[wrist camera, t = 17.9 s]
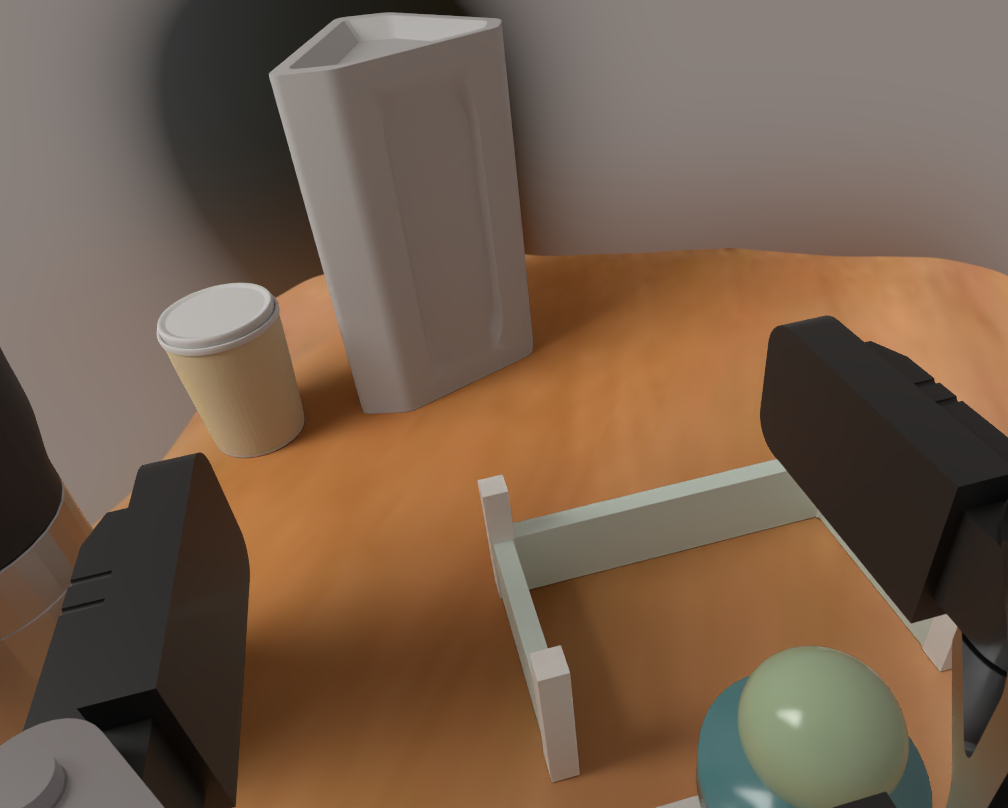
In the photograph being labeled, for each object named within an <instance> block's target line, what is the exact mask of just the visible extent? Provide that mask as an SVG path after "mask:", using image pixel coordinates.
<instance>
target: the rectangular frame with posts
mask: <svg viewBox="0 0 1008 808" xmlns="http://www.w3.org/2000/svg"><path fill="white" fill-rule="evenodd" d="M478 486H479V491H480V497H481V503H482V508H483V514H484V520H485V526H486V531H487V537H488V543H489V548H490V554H491V560H492V565H493V571H494V577H495V582H496V586H497V589H498V593H499V596H500V599H501V598H503V602H504V605H505V609H506V612H507V616H508V619H509V623H510V626H511V630H512V634H513V637H514V641H515V644H516V648H517V651H518V655H519V658H520V662H521V665H522V669H523V672H524V676H525V679H526V683H527V686H528V690H529V693H530V697H531V700H532V704H533V708H534V711H535V715H536V718H537V722H538V725H539V729H540V732H541V738H542V744H543V751H544V757H545V760H546V764H547V767H548V771H549V775H550V778H551V782H552V783H553V782H556V781H560V780H563V779H567V778H570V777H574V776H577V775H580V771H579V760H578V750H577V739H576V729H575V718H574V708H573V697H572V687H571V676H570V671H569V668H568V665H567V662H566V659H565V656H564V653H563V650H562V647H561V645H559V646H555V647H552V648H547V645H546V641H545V638H544V635H543V632H542V629H541V626H540V623H539V620H538V617H537V614H536V610H535V607H534V604H533V601H532V598H531V595H530V592H529V589H533V588H537V587H541V586H545V585H549V584H553V583H557V582H561V581H565V580H569V579H572V578H576V577H580V576H584V575H588V574H592V573H596V572H600V571H604V570H608V569H612V568H616V567H620V566H624V565H628V564H632V563H635V562H639V561H643V560H647V559H651V558H655V557H659V556H663V555H667V554H671V553H675V552H679V551H683V550H687V549H691V548H695V547H698V546H702V545H706V544H710V543H714V542H718V541H722V540H726V539H730V538H734V537H738V536H742V535H746V534H750V533H754V532H757V531H761V530H765V529H769V528H773V527H777V526H781V525H785V524H789V523H793V522H797V521H801V520H805V519H809V518H813V517H817V518H820V519H821V520H822V522H823V523H824V524H825V525H826V527H827V528H828V529H829V530H830V532H831V533H832V534H833V535H834V537H835V538H836V539H837V540H838V542H839V543H840V544H841V545H842V547H843V548H844V549H845V550H846V552H847V553H848V554H849V555H850V557H851V558H852V559H853V560H854V561H855V563H856V564H857V565H858V566H859V568H860V569H861V570H862V571H863V573H864V574H865V575H866V576H867V578H868V579H869V580H870V581H871V583H872V584H873V585H874V586H875V588H876V589H877V590H878V591H879V593H880V594H881V595H882V596H883V598H884V599H885V600H886V601H887V603H888V604H889V605H890V606H891V608H892V609H893V610H894V611H895V612H896V614H897V615H898V616H899V617H900V619H901V620H902V621H903V622H904V624H905V625H906V626H907V627H908V629H909V630H910V631H911V632H912V634H913V635H914V636H915V637H916V639H917V640H918V641H919V642H920V644H921V645H922V646H923V648H922V650H923V651H924V652H925V654H926V655H927V656H928V657H929V659H930V660H931V661H932V662H933V664H934V665H935V666H936V667H937V669H938V670H939V671H940V672H942V671H945V670H949V669H952V640H953V637H954V634H955V632H956V629H957V626H956V624H955V623H954V622H953V621H952V620H951V619H950V618H949V616H948V615H947V614H944V615H941V616H937V617H934V618H930V619H926V620H923V621H919V622H915V623H912V624H911V623H910V622H909V621H908V620H907V618H906V617H905V616H904V615H903V613H902V612H901V611H900V610H899V609H898V607H897V606H896V605H895V604H894V602H893V601H892V600H891V599H890V597H889V596H888V595H887V594H886V593H885V591H884V590H883V589H882V588H881V586H880V585H879V584H878V583H877V581H876V580H875V579H874V578H873V577H872V575H871V574H870V573H869V572H868V570H867V569H866V568H865V567H864V565H863V564H862V563H861V562H860V561H859V559H858V558H857V557H856V556H855V554H854V553H853V552H852V551H851V549H850V548H849V547H848V546H847V545H846V543H845V542H844V541H843V540H842V538H841V537H840V536H839V535H838V533H837V532H836V531H835V530H834V529H833V527H832V526H831V525H830V524H829V522H828V521H827V520H826V519H825V517H824V516H823V515H822V514H821V513H820V511H819V510H818V509H817V508H816V506H815V505H814V504H813V503H812V501H811V500H810V499H809V498H808V497H807V495H806V494H805V493H804V492H803V490H802V489H801V488H800V487H799V485H798V484H797V483H796V482H795V481H794V479H793V478H792V477H791V476H790V474H789V473H788V472H787V471H786V469H785V468H784V467H783V466H782V465H781V463H780V462H779V461H778V460H777V459H775V460H771V461H767V462H763V463H759V464H755V465H751V466H747V467H742V468H738V469H734V470H730V471H726V472H722V473H718V474H714V475H710V476H705V477H701V478H697V479H693V480H689V481H685V482H681V483H677V484H673V485H668V486H664V487H660V488H656V489H652V490H648V491H644V492H640V493H636V494H631V495H627V496H623V497H619V498H615V499H611V500H607V501H603V502H599V503H594V504H590V505H586V506H582V507H578V508H574V509H570V510H566V511H561V512H557V513H553V514H549V515H545V516H541V517H537V518H533V519H529V520H524V521H520V522H516V523H513V521H512V514H511V507H510V500H509V493H508V489H507V486H506V483H505V481H504V478H503V475H498V476H494V477H490V478H486V479H481V480H478Z"/></svg>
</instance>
